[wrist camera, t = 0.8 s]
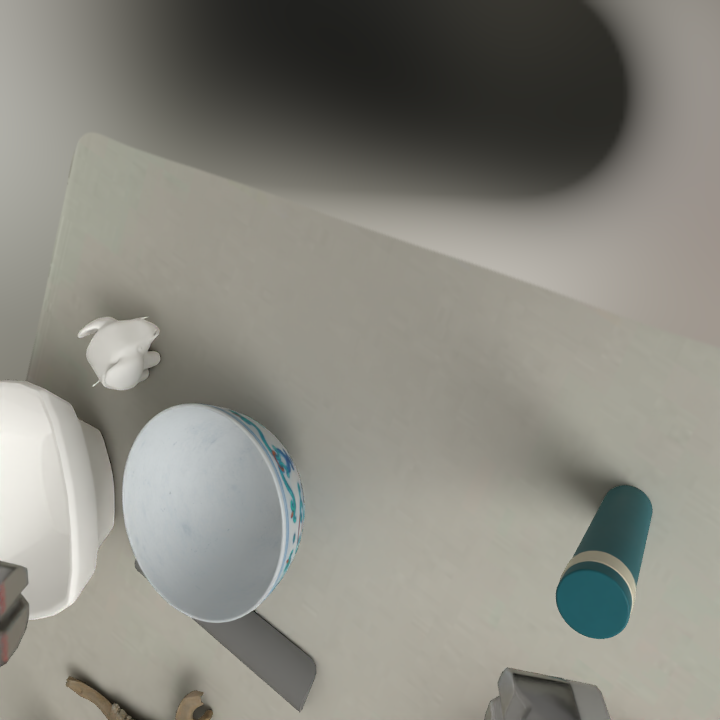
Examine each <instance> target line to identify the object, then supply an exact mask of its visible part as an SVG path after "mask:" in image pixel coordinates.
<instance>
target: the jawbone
mask: <svg viewBox="0 0 720 720" xmlns="http://www.w3.org/2000/svg"><path fill="white" fill-rule="evenodd" d="M66 686H67V687H69V688H70V689H72V690H73V691H74V692H76V693H77V694H78V695H79V696H81V697H83V698H85V699H88V700H90V701H91V702H93V703H94V704H95V705H96V706H97V707H98V708H99V709H100V710H101V711H102V712H103V714H104V715H105V716H106V718H107V719H108V720H134V719H132V717H131V716H129V715H127V713H125V710H123V709H120V707H119V706H118V704H115V703H113V705H112V704H111V703H110V702H109V701H108V700H107V699H106V698H105V697H104V696H103V695H101V694H100V693H98V692H97V691H96V690H94V689H92V688H91V687H89V686H87V685H86V684H85V683H84V682H81V681H80V680H77V679H75V678H73V677H71V676H69V677H68V679H67V682H66ZM202 695H203V692H200V691H192V692H190V693H189V694H187V695H186V696H185V697H184V699H182V701H181V702H180V704H179V706H178V709H177V712H176V716H175V720H195V719H194V718H193V716H192V715H193V712H194V710H195V709H196V708H197V707H199V706H201V705H203V703H202V702H201V698H200V697H201V696H202ZM212 715H213V712H212V710H207V711H206V712H205V713H204V715H202V716H201V718H199V719H197V720H210V719H211V718H212Z"/></svg>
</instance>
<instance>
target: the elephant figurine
mask: <svg viewBox="0 0 720 720" xmlns="http://www.w3.org/2000/svg"><path fill="white" fill-rule="evenodd" d="M148 317H149V316H148ZM145 318H147V317H142V318H135V319H132V320H120V321H117V320H116V319H114V318H112V317H101V318H97V319H95V320H93V321H91V322H90V323H88V324H87V325H86V326H84V327H83V328H82V329H81V330H80V331H79V333H78V338H83V337H85V336H87V335H89V334H93V333H96V334H95V335H94V337H93V338H92V340H91V342H90V343H89V345H88V348H87V351H86V358H87V360H88V362H89V364H90V365H91V367H92V368H93V370H94V372H95V373H96V375H97V377H98V378H99V380H98V381H97V382H96V383H95V384H93V385H92V387H94V386H95V385H96V384H97V383H98V382H100V381H101V383H102V384H103V386H104V387H106V388H109V389H116V390H127V389H131V388H133V387H135V386H136V385H137V384H138V383H139V382H141V381H144V380H146V379H147V378H148V376H149V370H148V369H147V368H151V367H153V366H156V365H157V364H158V363H159V362H160V355H159V353H158V352H156V351H148V349H149V348H150V345H151V343H152V342H153V340H154V339H155V338H156V337H157V336H158V335H159V328H158V327H157V326H156V325H155V324H153V323H151V322H149V321H146V320H143V319H145Z"/></svg>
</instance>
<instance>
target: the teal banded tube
mask: <svg viewBox="0 0 720 720" xmlns="http://www.w3.org/2000/svg"><path fill="white" fill-rule="evenodd" d="M651 517H652V505H651V502H650V500H649V498H648V497H647V496H646V494H645V493H643V492H642V491H641V490H639V489H637V488H635V487H632V486H627V485H622V486H617V487H615V488H613V489H611V490H610V491H609V492H608V493H607V494H606V496H605V498H604V499H603V501H602V503H601V505H600V507H599V509H598V511H597V513H596V514H595V516H594V518H593V520H592V522H591V524H590V526H589V528H588V530H587V531H586V533H585V535H584V537H583V539H582V541H581V543H580V545H579V546H578V548H577V550H576V552H575V554H574V556H573V558H572V559H571V560H570V561H569V563H568V564H567V566H566V568H565V570H564V572H563V574H562V576H561V578H560V582H559V584H558V587H557V590H556V603H557V607H558V610H559V612H560V614H561V616H562V617H563V619H564V620H565V621H566V623H567V624H568V625H569V626H570V627H571V628H573V629H574V630H575V631H577V632H578V633H580V634H582V635H584V636H587V637H590V638H596V639H605V638H610V637H613V636H615V635H617V634H619V633H620V632H621V631H622V630H623V629H624V628H625V627H626V625H627V623H628V621H629V617H630V615H631V613H632V610H633V606H634V601H635V596H636V585H637V581H638V576H639V572H640V567H641V563H642V558H643V553H644V549H645V544H646V540H647V535H648V531H649V526H650V521H651Z"/></svg>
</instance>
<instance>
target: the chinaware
mask: <svg viewBox="0 0 720 720" xmlns="http://www.w3.org/2000/svg"><path fill="white" fill-rule="evenodd" d="M122 506H123V516H124V522H125V527H126V531H127V535H128V539H129V542H130V545H131V548H132V551H133V553H134V555H135V558H136V560H137V562H138V564H139V566H140V568H141V570H142V571H143V573H144V575H145V576H146V578H147V579H148V581H149V582H150V584H151V585H152V586H153V588H154V589H155V590H156V591H157V592H158V593H159V595H160V596H161V597H162V598H163V599H164V600H166V601H167V602H168V603H169V604H170V605H171V606H173V607H174V608H175V609H177V610H178V611H180V612H182V613H183V614H185V615H187V616H189V617H191V618H194V619H197V620H200V621H204V622H211V623H222V622H229V621H233V620H236V619H238V618H241V617H243V616H245V615H246V614H248V613H250V612H251V611H253V610H254V609H255V608H256V607H257V606H259V605H260V604H261V603H262V602H263V601H264V600H265V599H266V598H267V597H268V596H269V594H270V593H271V592H272V591H273V590H274V589H275V587H276V586H277V585H278V583H279V582H280V581H281V579H282V578H283V576H284V575H285V573H286V572H287V570H288V568H289V566H290V565H291V563H292V561H293V558H294V556H295V554H296V551H297V549H298V546H299V543H300V539H301V535H302V531H303V525H304V513H305V507H304V494H303V488H302V484H301V480H300V477H299V474H298V471H297V469H296V466H295V464H294V462H293V460H292V458H291V456H290V455H289V453H288V452H287V450H286V449H285V447H284V446H283V445H282V443H281V442H280V441H279V440H278V439H277V438H276V437H275V436H274V435H273V434H272V433H271V432H270V431H269V430H268V429H267V428H265V427H264V426H263V425H261V424H260V423H258V422H257V421H255V420H253V419H252V418H250V417H248V416H246V415H244V414H242V413H239V412H236V411H234V410H231V409H227V408H224V407H220V406H214V405H208V404H199V403H187V404H180V405H175V406H172V407H169V408H167V409H165V410H163V411H161V412H160V413H158V414H157V415H155V416H154V417H153V418H152V419H150V420H149V421H148V422H147V423H146V425H145V426H144V427H143V428H142V429H141V431H140V432H139V434H138V435H137V437H136V439H135V441H134V443H133V445H132V447H131V449H130V452H129V455H128V458H127V461H126V465H125V470H124V476H123V484H122Z"/></svg>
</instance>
